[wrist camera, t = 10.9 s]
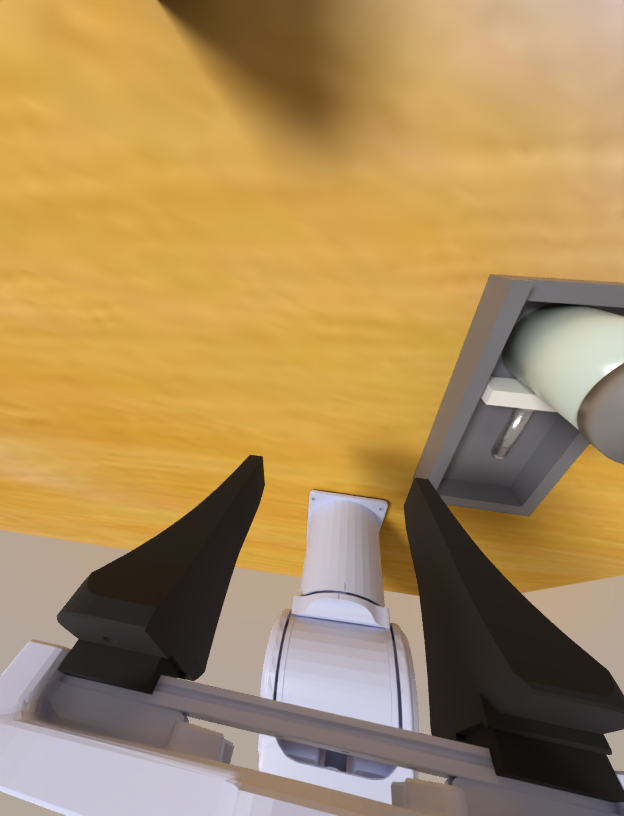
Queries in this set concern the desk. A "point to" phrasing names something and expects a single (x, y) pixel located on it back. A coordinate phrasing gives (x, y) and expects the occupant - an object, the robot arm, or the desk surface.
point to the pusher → (524, 404)
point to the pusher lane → (482, 424)
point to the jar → (574, 368)
